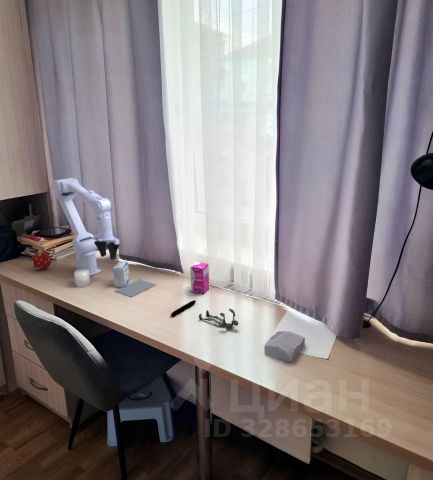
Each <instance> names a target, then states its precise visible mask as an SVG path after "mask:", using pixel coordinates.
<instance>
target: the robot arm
mask: <svg viewBox="0 0 433 480" xmlns="http://www.w3.org/2000/svg"><path fill="white" fill-rule="evenodd" d="M51 185H52V189H51V190H52V191H53V194H54V197H55V198H56V200H57V201H58V202H59V203H60V206H61V208H62V211H63V213H64V215H65V217H66V220H67V221H68V223H69V225H70V228H71V230H72V232H73V234H74V238H73V239H72V240H71V241H72V242H71V244H72V247H73V252H74V254H75V258H74V259H75V260H74V262H75V267H76V270H79V269H88V270H89V277H90V276H91V277H92V276H93V275H96V274H98V273H100V272H102V269H99V268H98V265H97V264H98V263H97V256H96V254H97V252H98V251H99V255H100V257H101V258H104V257H106V256H107V250H108V253H109V257H110V260H111V261H112V260H115V259H117V252H118V249H119V246H120V239H119V238H117V237H115V236H114V234H113V225H112V217H111V216H112V215H111V212H112V210H113V207H114V206H113V202H112V200H111V199H110V198H109V197H102V196H101V195H99V194H97V193H96V192H95V191H94V190H87V189H86V188H84V187H83V186H82V185H81V184H80V182H79V180H78V179H76V177H69V178H62V179H54V180H53V182H52V184H51ZM76 195H77V196H79V197H81V198H82V201H83V202H84V203H85V204H87V205H88V206H89V207H91V208H92V210H93V211H92V212H93V213H94V216H95V218H96V223H97V232H98V233H96V234H94V235H93V233H90V232H88V231H87V230H86V228H85V225H84V224H83V223H84V222H83V221H82V219H81V217H80V214H79V212H78V210H77V208H76V206H75V204H74V201H73V199H74V198H75V197H76Z"/></svg>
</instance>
